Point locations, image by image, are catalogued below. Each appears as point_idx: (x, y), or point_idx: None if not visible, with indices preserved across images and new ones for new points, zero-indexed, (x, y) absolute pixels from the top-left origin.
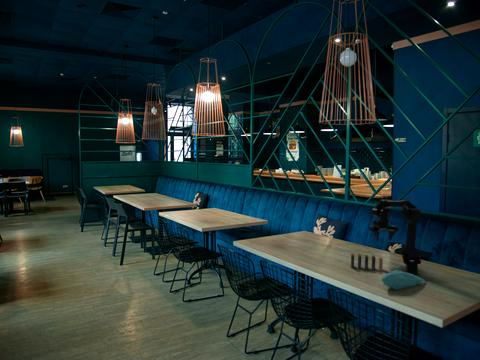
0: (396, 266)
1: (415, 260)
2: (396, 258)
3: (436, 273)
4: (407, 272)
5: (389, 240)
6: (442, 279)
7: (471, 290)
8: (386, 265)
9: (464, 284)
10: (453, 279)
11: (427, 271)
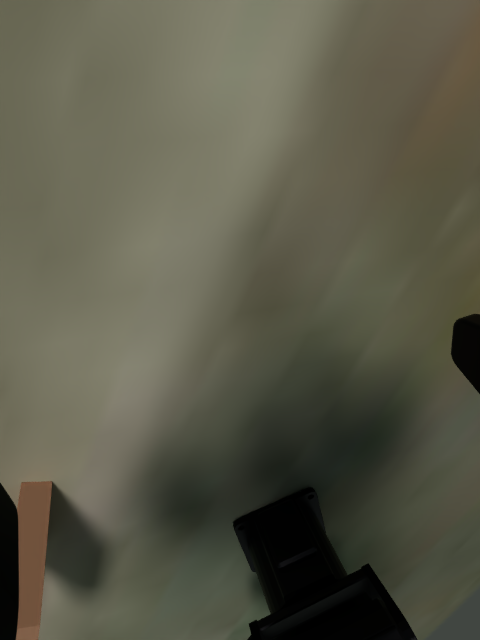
0: (249, 382)
1: (374, 596)
2: (432, 21)
3: (454, 471)
4: (249, 551)
5: (462, 354)
6: (405, 557)
7: (421, 633)
8: (150, 371)
9: (453, 583)
10: (462, 538)
11: (428, 448)
